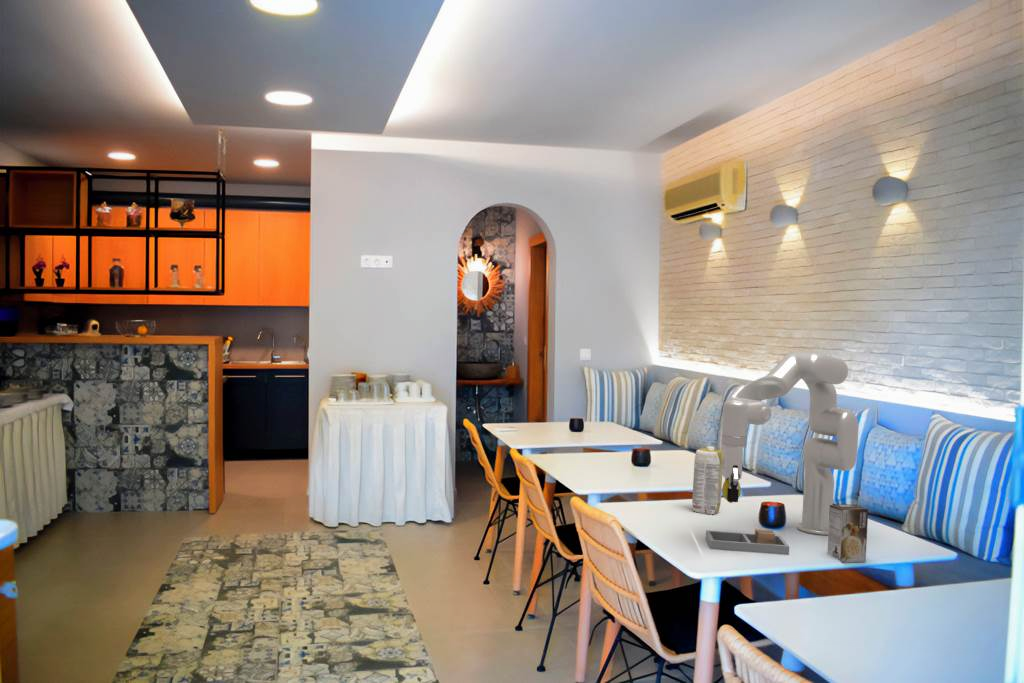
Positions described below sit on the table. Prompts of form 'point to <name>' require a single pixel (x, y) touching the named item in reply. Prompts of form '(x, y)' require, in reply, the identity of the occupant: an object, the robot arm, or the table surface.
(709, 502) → the juice carton
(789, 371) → the robot arm
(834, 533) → the coffee box
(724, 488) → the lemon
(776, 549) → the slot tray
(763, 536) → the walnut block
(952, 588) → the table surface
